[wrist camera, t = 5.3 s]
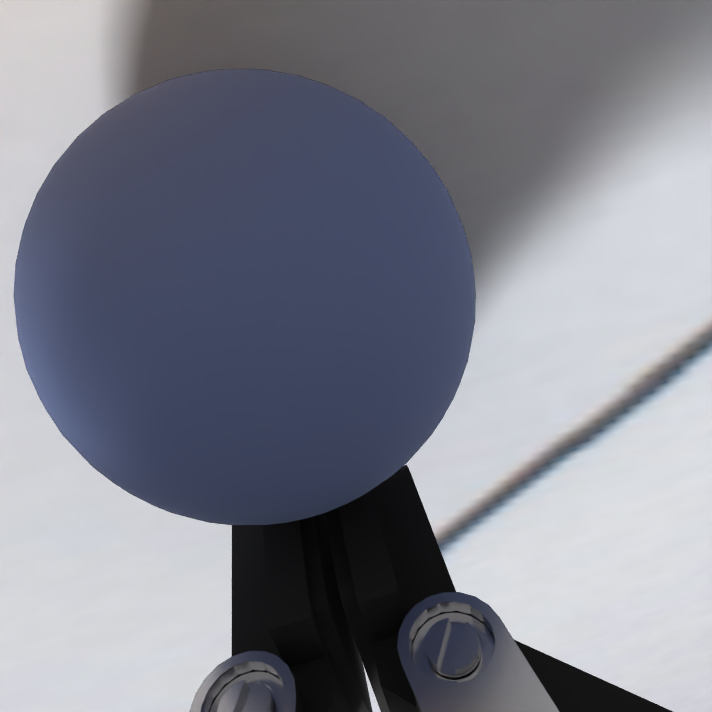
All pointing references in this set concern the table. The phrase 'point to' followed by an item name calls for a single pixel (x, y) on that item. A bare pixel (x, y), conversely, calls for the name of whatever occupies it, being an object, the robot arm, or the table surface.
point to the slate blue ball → (244, 297)
